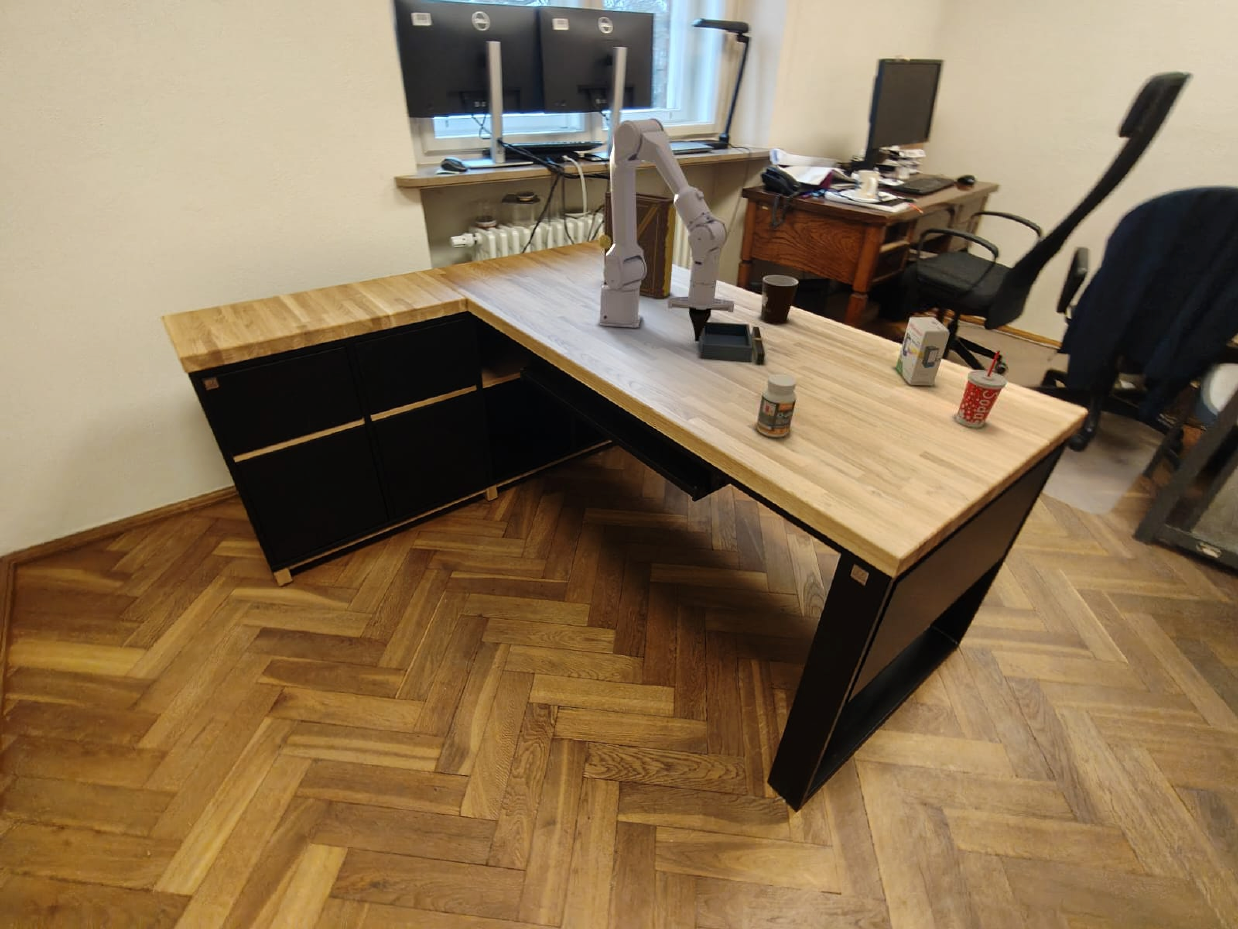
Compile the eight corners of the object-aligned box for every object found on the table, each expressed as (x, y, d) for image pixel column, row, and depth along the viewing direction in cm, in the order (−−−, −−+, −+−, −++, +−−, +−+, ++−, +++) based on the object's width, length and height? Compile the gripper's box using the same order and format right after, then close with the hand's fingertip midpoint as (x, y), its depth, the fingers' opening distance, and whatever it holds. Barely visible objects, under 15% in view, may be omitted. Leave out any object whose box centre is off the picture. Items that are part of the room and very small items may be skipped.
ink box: (933, 386, 120) (953, 331, 113) (908, 385, 120) (926, 330, 113) (917, 368, 127) (934, 316, 120) (893, 367, 127) (909, 315, 120)
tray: (700, 358, 129) (701, 344, 127) (700, 334, 140) (701, 321, 138) (750, 361, 128) (752, 347, 126) (746, 337, 139) (748, 324, 137)
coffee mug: (791, 326, 146) (799, 287, 140) (756, 323, 147) (762, 284, 141) (789, 311, 155) (797, 273, 149) (756, 308, 156) (762, 270, 151)
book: (674, 292, 165) (681, 197, 151) (659, 300, 159) (666, 202, 145) (609, 278, 175) (610, 187, 161) (593, 285, 169) (593, 191, 155)
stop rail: (755, 363, 127) (757, 352, 125) (750, 336, 140) (752, 325, 139) (763, 364, 127) (765, 353, 125) (757, 336, 140) (759, 326, 138)
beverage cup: (952, 425, 107) (981, 354, 99) (949, 410, 112) (977, 341, 104) (989, 432, 105) (1022, 360, 97) (985, 416, 110) (1015, 347, 102)
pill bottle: (778, 442, 101) (789, 390, 95) (749, 430, 104) (758, 379, 98) (794, 429, 104) (805, 379, 99) (766, 418, 107) (775, 369, 102)
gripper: (668, 284, 123) (664, 344, 131) (738, 288, 122) (729, 348, 130) (670, 274, 129) (666, 332, 137) (736, 278, 128) (728, 336, 136)
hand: (696, 339), depth 134 cm, fingers closed
